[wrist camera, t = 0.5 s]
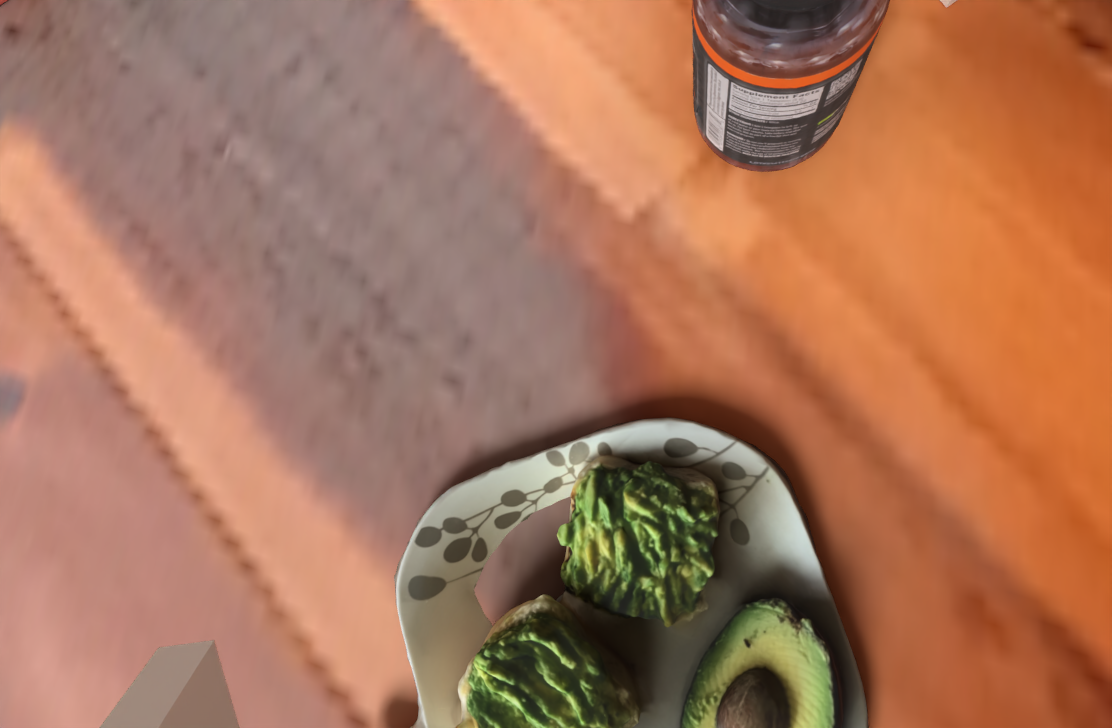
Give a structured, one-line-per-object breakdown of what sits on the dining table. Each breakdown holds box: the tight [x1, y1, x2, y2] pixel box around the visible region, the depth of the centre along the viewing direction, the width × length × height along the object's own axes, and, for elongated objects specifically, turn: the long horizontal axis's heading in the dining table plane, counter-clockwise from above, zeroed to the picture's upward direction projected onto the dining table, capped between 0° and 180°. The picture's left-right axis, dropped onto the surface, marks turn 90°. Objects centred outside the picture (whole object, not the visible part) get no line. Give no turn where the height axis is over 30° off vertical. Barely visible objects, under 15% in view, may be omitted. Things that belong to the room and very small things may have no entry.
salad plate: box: [394, 417, 869, 728], centre depth 27 cm, size 19×18×5 cm
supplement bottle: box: [692, 0, 890, 172], centre depth 25 cm, size 6×6×11 cm
